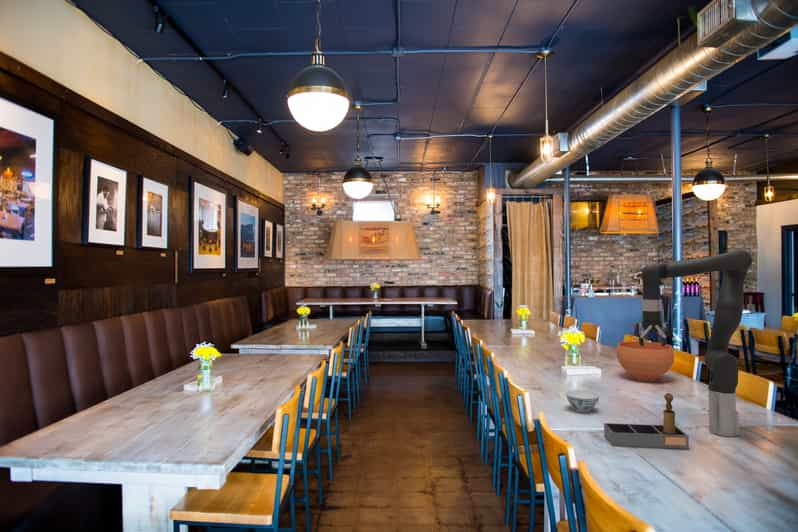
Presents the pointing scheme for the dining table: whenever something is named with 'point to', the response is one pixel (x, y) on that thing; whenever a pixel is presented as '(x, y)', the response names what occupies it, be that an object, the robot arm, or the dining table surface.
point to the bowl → (645, 359)
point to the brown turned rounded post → (669, 417)
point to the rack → (644, 436)
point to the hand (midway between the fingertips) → (652, 346)
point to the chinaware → (582, 399)
